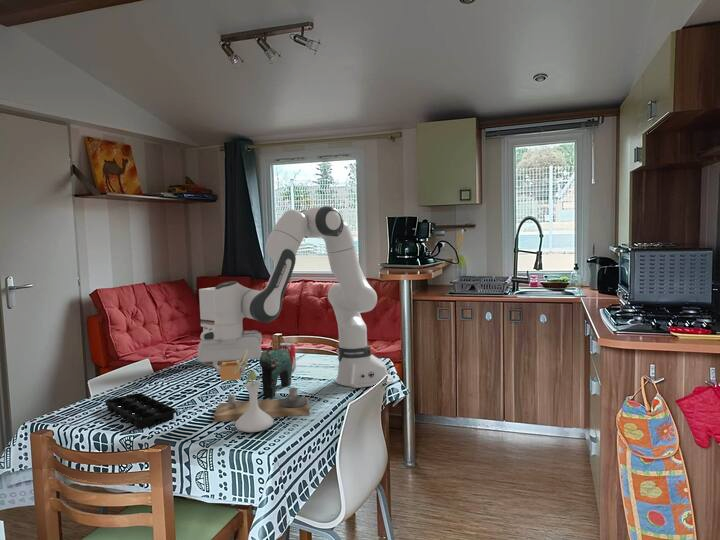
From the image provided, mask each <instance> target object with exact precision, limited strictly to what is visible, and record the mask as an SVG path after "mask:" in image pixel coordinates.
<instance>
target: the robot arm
mask: <svg viewBox="0 0 720 540" xmlns="http://www.w3.org/2000/svg"><path fill="white" fill-rule="evenodd" d="M304 238H305V239H307V238H309V239H310V238H312V239H313V238H316V239H317V238H322V239H323V241H324V243H325V250H326V253H327V258H328V262H329V265H330V271H331V273H332V274H333V276H334V277H335V278H336V279H337V283H334V284H332V285H331V286H330V287H329V289H328V292H327V299H328V302H329V304H330V305H331V306H332V310H333V312H334V315H335V319H336V322H337V323H336V324H337V328H338V331H337V332H338V347H337V360H338V368H337V369H338V370H337V375H336V376H337V377H336V378H335V379H336V380H335V383H336V384H338V385H340V386H345V387H350V388H353V389H354V388H355V389H360V388H366V387H367V388H368V387H374V386H373V385H375V384H376V383H377V382H378V381H379V380H380V379H381V378H383V377H384V376H385V375H387V376H388V379H387V383H386V384H385V385H390V384H393V383H394V376H393V375H391V373H388V369H387V366H386V364H385V363H384V362H383V361H382V360H381V359H379V358H378V357H377V356H375V355H374V353H376V352H375V351H376V350H375V348H374V347H373V346H371V345H370V344H368V333H367V332H368V329H367V324H366V323H365V321H364V320H363V318H362V315H361V313H367V312H371V311H373V309H375V307H376V306H377V303H378V295H377V294H378V293H377V292H376V291H375V289H374V288H373V287H372V286H371V285H370V283H369V282H368V280H367V278H366V276H365V274H364V272H363V270H362V268H361V265H360V263H359V262H360V261H359V257H358V252H357V249H356V245H355V240H354V237H353V234H352V231H351V228H350V227H349V224H348V222H347V221H344V219H343V216H342V214H341V213H340V211H339V210H338V209H337V208H335V207H334V206H329V205H325V206H324V205H323V206H315V207H311V208H308V209H302V210H300V211H299V210H297V209H288V210H286V211H285V212H284V213H283V214H282V215H281V217H280V218H279V219H278V220H277V222H276V224H275V225H274V227H273V228H272V230H271V232H270V233H269V236H268V237H267V239H266V243H265V251H266V254H267V256H268V257H269V258H270V259H271V260H272V261H273V264H274V266H273V268H272V272H271V274H270V277H269V279H268V281H267V284H266V286H265V287H264V288H263V289H261V290H258V289H253V288H249V287H246V286H244V285H242V284H240V283H239V282H238V281H235V280H230V281H225V282H222V283H219V284H217V285H216V286H214V287H215V290H214V297H213V306H214V313H215V322H214V325H215V327H213V328H211V329H208V330H205V331H203V330H202V332H201V334H200V336H199V337H200V342H199V343H198V348H197V361H198V362H199V363H203V362H213V366H214V367H213V368H214V369H215V370H216V375H217V376H218V375H220V368H219V367H218V365H217V364H218V361H231V360H237V361H240V359H241V358H242V356H243V353H244V351H245V350H248V352H247V355H246V357H245V359H244V361H245V363H246V365H247V366H248V363H249V360H260V357H261V355H262V352H263V350H262V346H261V343H262V340H263V337H262V336H263V335H262V332H260V331H258V330H256V329H253V330H244V327H243V325H244V324H243V320H244V318H246V319H250V320H251V319H252V320H255V321H258V322H260V323H263V324H264V323H265V324H267V323H271V322H273V321H275V320H276V319H277V318H278V317H279V315H280V313H281V311H282V305H283V300H284V296H285V292H286V290H287V287H288V284H289V282H290V278H291V276H292V274H293V271H294V268H295V264H296V261H297V258H296V256H297V253H298V250H299V248H300V246H301V244H302V242H303V240H304ZM246 365H245V364H244V365H242V366H241V367H240V373H242V374H245V373H246V368H247V367H246ZM220 376H221V375H220Z"/></svg>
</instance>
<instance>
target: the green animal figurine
mask: <svg viewBox="0 0 720 540" xmlns="http://www.w3.org/2000/svg"><path fill="white" fill-rule="evenodd" d="M274 342H275V343H277V340H276V339H272V341H271V342H270V348H268V349H267V350H262V355H261V357H260V358H259V365H260V368H261V381H262V382H261V383H262V394H263V399H273V398H275V397H276V393H277V391H276V389H277V382H278V378H279V380H280V384H281V385H280V386H281V387H286V386H287V387H289V386H291V384H292V375H293V374H292V373H293V372H292V362H291V358H290V355H289V353H288V351H287V350H286V347H285V346H284V345H281V346H280V345H279V347H277V348H274V349H273V343H274ZM280 347H284V348H285V350H284V349H279V348H280ZM270 349H271V350H270Z"/></svg>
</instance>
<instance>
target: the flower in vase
mask: <svg viewBox="0 0 720 540" xmlns="http://www.w3.org/2000/svg"><path fill="white" fill-rule="evenodd" d="M247 352H248V350H245V351H244V353H243V356H242V358H241V359H240V360H238V361H239V363H238V366H237V367H236V369H235V371H234V372H235V374H236V373H237V372H238V370H239V369H240V367H242V366H244V364H245V365H246V363H245V361H244V359H245V357H246V355H247ZM245 368H246V370H247V371H248V373H249V374H248V375H247V378H246V381H245V383H244V385H243V386H245V388H246V390H247V392H248V395H249V396H248V397H249V401H250V407H249V409H248V410H247V411H246V412H245V413H244V414H243V415H242V416H241V417H240V418H239V419H238V420H235V421H236V422H235V425H234V426H235V428H236V429H237V431H240V432H244V433H257V432H262V431H265V430H268V429H269V428H271V427H272V426H273V424H274V422H275V421H274V418H273V417H271V416H270V415H268V414H267V413H265V412H264V411H262V410H261V409H260V408H259V407H258V403H257V401H258V393H259V389H260V387H261V385H262V382H260V381H255V380H256V379H257V376H258V375H257V374H256V372H255V370H254V369H252V370H251V369H250V368H249V366H248V364H247V365H246V367H245ZM250 370H251V371H250Z"/></svg>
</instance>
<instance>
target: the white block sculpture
mask: <svg viewBox="0 0 720 540" xmlns="http://www.w3.org/2000/svg"><path fill="white" fill-rule="evenodd" d="M215 287H216V286H214V287H206V288H199V289H198V297H199V299H198V300H199V313H200V314H199V316H200V327H202V332H203V331H205V330H208V329H211V328H213V327H215V325H214V322H215V313H214V306H213V297H214V290H215ZM237 361H238V360H231V361H218V364H217V365H218V367H219V368H220V366H221V364H222V362H237ZM202 365H203V366H208V367H213V368H215V367H214V366H213V362H202Z"/></svg>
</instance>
